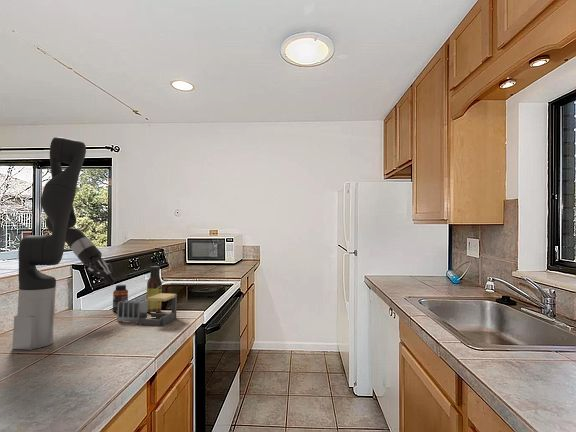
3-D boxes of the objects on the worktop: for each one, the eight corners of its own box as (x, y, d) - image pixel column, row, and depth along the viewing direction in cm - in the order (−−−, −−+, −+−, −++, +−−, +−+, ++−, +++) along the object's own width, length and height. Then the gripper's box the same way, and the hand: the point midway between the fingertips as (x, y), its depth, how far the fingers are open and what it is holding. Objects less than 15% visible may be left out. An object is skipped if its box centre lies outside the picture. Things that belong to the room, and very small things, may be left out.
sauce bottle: (161, 313, 150) (163, 266, 151) (145, 314, 147) (147, 267, 148) (160, 310, 156) (162, 265, 157) (145, 310, 153) (147, 265, 154)
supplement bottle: (130, 309, 155) (131, 284, 156) (122, 312, 149) (123, 286, 150) (117, 309, 156) (118, 283, 156) (109, 312, 150) (110, 285, 150)
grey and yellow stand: (163, 325, 130) (164, 298, 130) (137, 324, 131) (138, 297, 131) (176, 318, 141) (177, 293, 141) (152, 317, 142) (153, 292, 142)
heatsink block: (138, 323, 133) (139, 303, 134) (116, 322, 134) (117, 302, 135) (146, 319, 139) (147, 300, 140) (125, 318, 140) (126, 299, 141)
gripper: (81, 245, 134) (109, 278, 132) (103, 244, 147) (129, 274, 145) (67, 258, 134) (96, 292, 132) (90, 256, 147) (116, 286, 145)
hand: (113, 282), depth 139 cm, fingers closed
